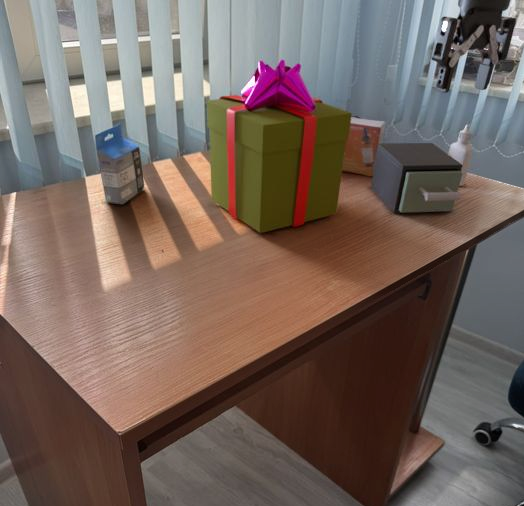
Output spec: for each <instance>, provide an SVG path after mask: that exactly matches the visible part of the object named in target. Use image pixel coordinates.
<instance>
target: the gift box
mask: <svg viewBox="0 0 524 506" xmlns="http://www.w3.org/2000/svg"><path fill="white" fill-rule="evenodd" d="M301 68H302V65H301V64H300V63H299V62H297V63H296V64H295V65H294V66H293V67H290V66H288V65H286V61H285V59H280V61H279V62H278V63H277V65H276V67H275V68H273V67H272V66H270V65H269V64H268V63H267V64H266V63H265V62H264V61H263V60H260V61H258V67H257V68H256V69H255V71H254V72H253V73H252V75H251V76H250V78H249V79H248V81H247V83H246V84H245V85H244V87H243V89H241V95H237V94H233V95H222V96H220V97H219V98H218V99H208V100H206V116H207V117H206V119H207V121H206V122H207V123H206V124H207V125H206V126H207V128H209V153H210V154H209V155H210V157H209V158H210V190H211V191H210V194H211V195H210V196H211V197H210V199H211V201H212V202H214V203H215V204H217V205H219V206H220V207H221V208H223V209H224V210H226V211H227V212H228V214H229V216H230V217H232V218H233V219H235V220H237V221H242V222H243V223H245V224H246V225H247V226H249V227H250V228H252V229H253V230H255V231H256V232H258V233H259V234H262V233H266V232H270V231H271V232H272V231H274V230H278V229H279V230H280V229H283V228H286V227H290V228H294V227H300V226H302V225H304V224H305V223H306V222H310V221H314V220H318V219H322V218H326V217H329V216H334V215H336V214H337V211H338V204H339V196H340V189H341V182H342V174H343V171H342V166H343V159H344V151H345V143H346V140H348V138H349V130H350V123H351V116H353V115H352V112H350V111H347V110H344V109H341V108H338V107H335V106H332V105H331V104H330V105H329V104H327V103H324V102H323V100H321V99H318V98H316V97H313V96H312V95H311V93H310V90H309V89H308V87H307V85H306V83H305V81H304V78H303V76H302V74H301Z"/></svg>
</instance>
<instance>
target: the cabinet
mask: <svg viewBox="0 0 524 506" xmlns="http://www.w3.org/2000/svg"><path fill="white" fill-rule="evenodd" d="M462 166H463V165H462V164H461V163H459V162H458V161H457V160H455V159H454V158H452V157H451V156H450V155H448V153H447V152H445V151H444V150H443V149H441V148H440V147H438V146H437V145H436V144H434V143H433V142H400V143H399V142H396V143H395V142H393V143H391V142H390V143H385V142H384V143H383V142H382V144H378V149H377V155H376V161H375V166H374V172H373V176H372V179H371V184H370V189H371V190H372V191H373V192H374V193H375V194H376V196H377V197H378V198H379V199H380V200H381V201H382V202H383V203H384V204H385V206H386V207H387V208H388V209H389V210H390V211H391V212H392V214H395V215H396V214H402V213H401V212H400V211H399V207H400V205H399V204H400V199H401V194H402V190H403V185H404V180H405V175H406V170H437V169H452V171H461V169H462ZM450 212H451V211H435V212H434V213H450ZM422 213H423V214H425V213H428V212H404V213H403V214H422Z"/></svg>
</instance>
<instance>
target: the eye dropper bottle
mask: <svg viewBox="0 0 524 506" xmlns="http://www.w3.org/2000/svg"><path fill="white" fill-rule="evenodd" d="M472 135H473V132H472V131H471V130H470V124H466V125H465V127H464V129H462V130H460V131H459V133H458V138H457V141H454V142H453V143H451V144H450V146H449V150H448V153H447V154H448V155H450V156H451V157H452V158H454V159H455V160H457V161H458V162H459V163H461V164H462V165H463V166H462V169H461V172H462V173H463V174H462V177H461V181H460V185H459V187H463V186H464V185H465V183H466V180H467V177H468V172H469V169H470V165H471V162H472V157H473V153H474V150H473V147H472V145H471V144H470V142H471V138H472Z"/></svg>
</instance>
